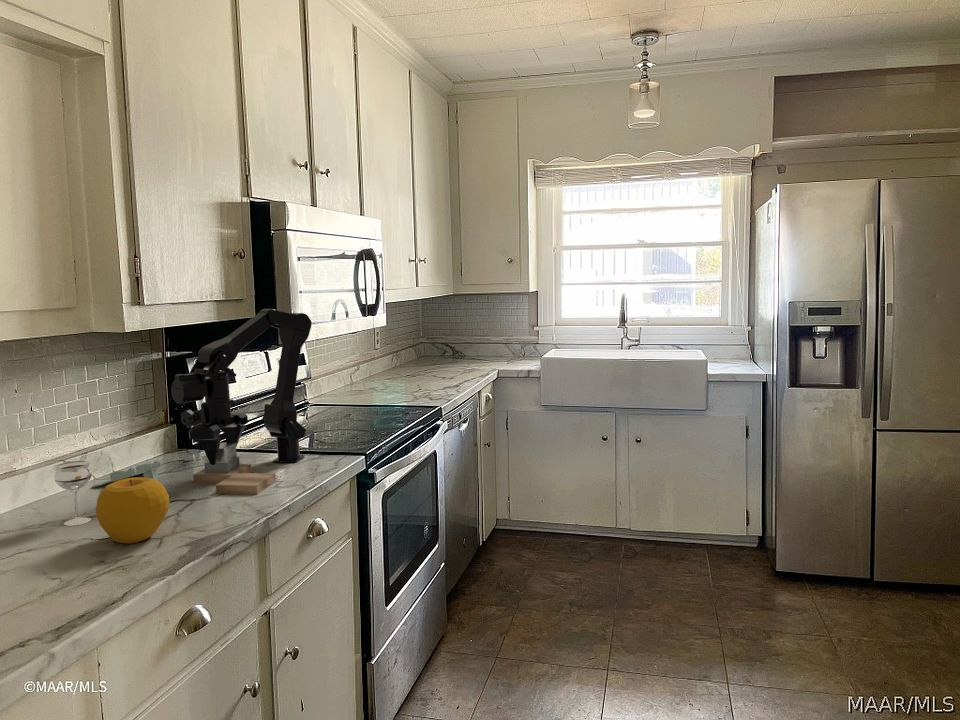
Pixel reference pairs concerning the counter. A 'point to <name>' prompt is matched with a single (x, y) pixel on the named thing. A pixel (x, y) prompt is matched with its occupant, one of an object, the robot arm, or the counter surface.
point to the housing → (224, 459)
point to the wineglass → (73, 483)
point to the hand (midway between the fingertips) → (222, 459)
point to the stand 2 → (245, 483)
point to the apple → (132, 509)
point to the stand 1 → (219, 474)
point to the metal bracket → (137, 472)
